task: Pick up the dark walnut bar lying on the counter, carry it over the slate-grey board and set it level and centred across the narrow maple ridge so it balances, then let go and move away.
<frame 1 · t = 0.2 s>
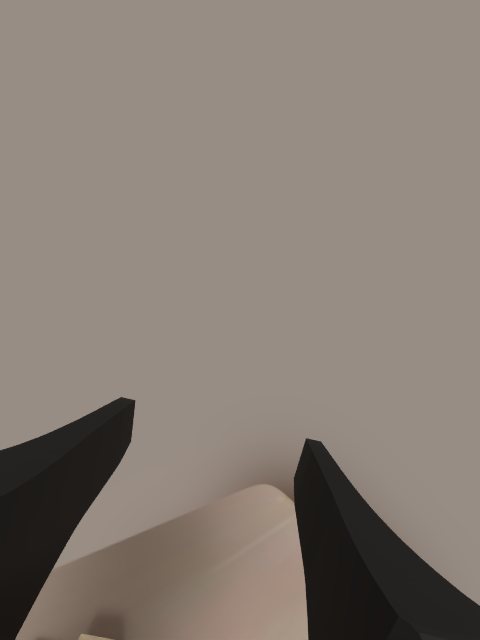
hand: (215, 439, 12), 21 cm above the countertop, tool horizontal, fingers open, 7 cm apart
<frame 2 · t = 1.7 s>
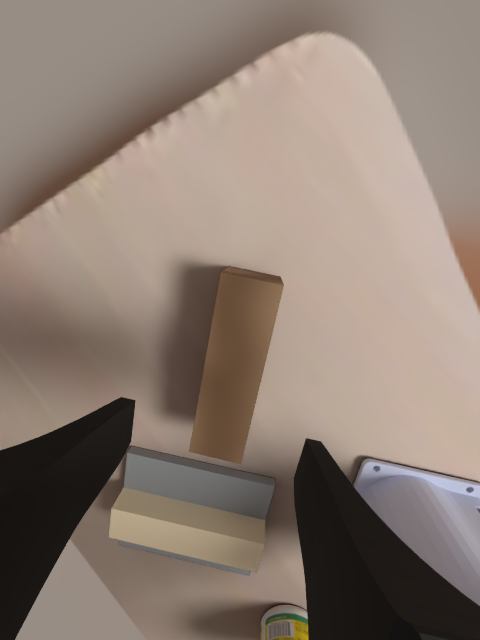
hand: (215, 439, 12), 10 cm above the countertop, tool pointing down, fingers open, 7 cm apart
supplement bottle: (288, 619, 28), on the countertop
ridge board: (193, 508, 25), on the countertop
walnut bar: (238, 352, 21), on the countertop
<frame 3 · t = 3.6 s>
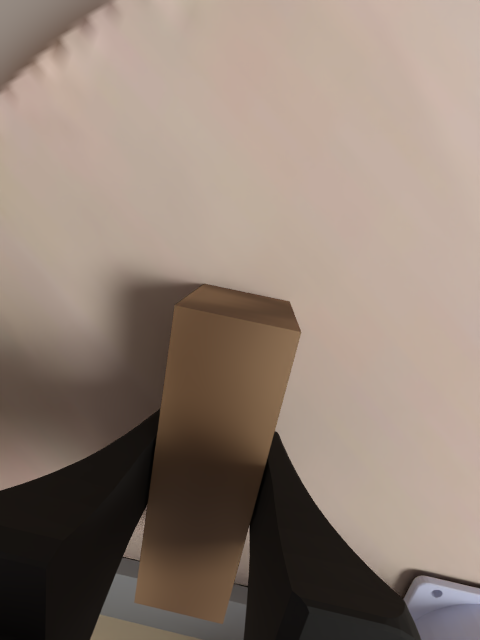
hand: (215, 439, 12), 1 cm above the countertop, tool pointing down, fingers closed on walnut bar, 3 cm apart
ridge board: (161, 628, 18), on the countertop
walnut bar: (220, 419, 13), on the countertop, touching gripper
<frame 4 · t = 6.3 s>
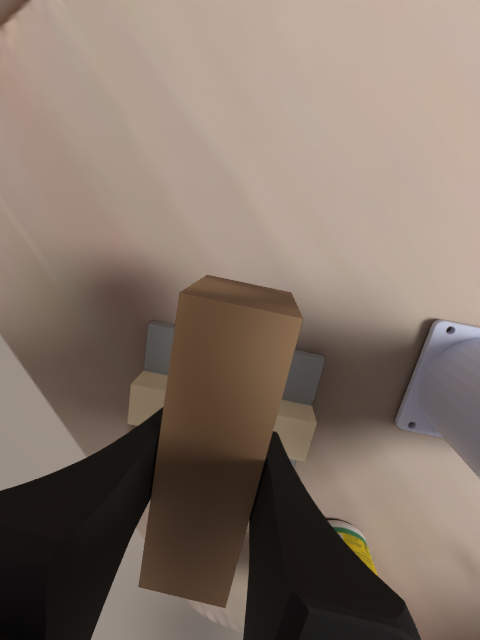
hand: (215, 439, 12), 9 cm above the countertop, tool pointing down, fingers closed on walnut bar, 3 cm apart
supplement bottle: (332, 540, 24), on the countertop
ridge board: (224, 400, 22), on the countertop
walnut bar: (223, 409, 14), point 7 cm above the countertop, touching gripper
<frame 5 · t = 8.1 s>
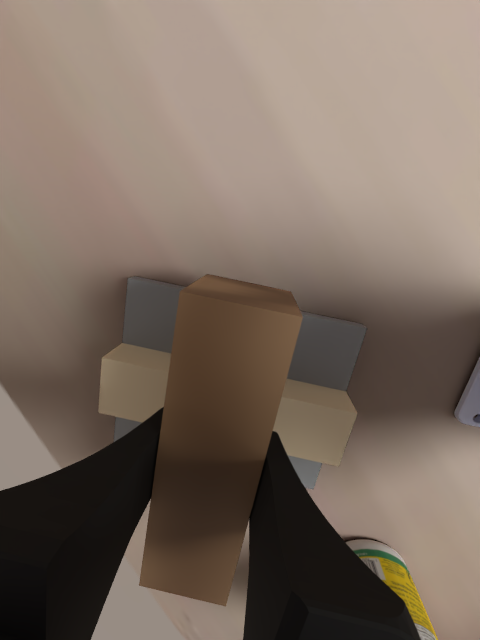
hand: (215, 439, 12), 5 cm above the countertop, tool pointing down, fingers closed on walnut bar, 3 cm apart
supplement bottle: (361, 564, 19), on the countertop
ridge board: (229, 384, 17), on the countertop
walnut bar: (223, 408, 14), point 3 cm above the countertop, touching gripper
when the fingers open (5 cm above the countertop, at t = 9.1 s): walnut bar stays where it is, resting on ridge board.
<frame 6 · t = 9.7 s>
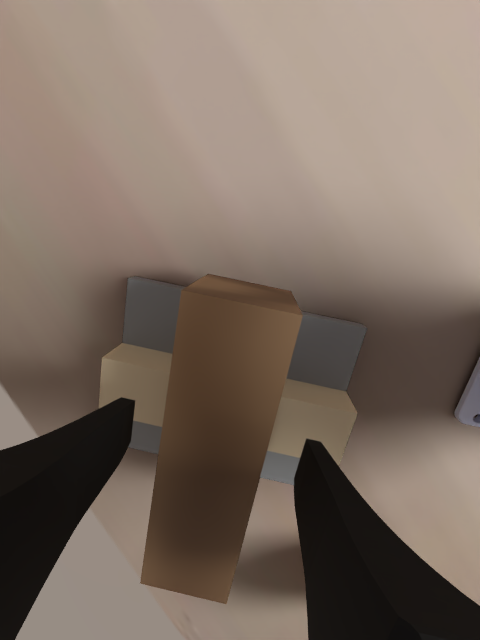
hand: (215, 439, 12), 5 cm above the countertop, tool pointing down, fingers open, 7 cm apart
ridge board: (229, 384, 17), on the countertop
walnut bar: (223, 407, 14), point 3 cm above the countertop, touching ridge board
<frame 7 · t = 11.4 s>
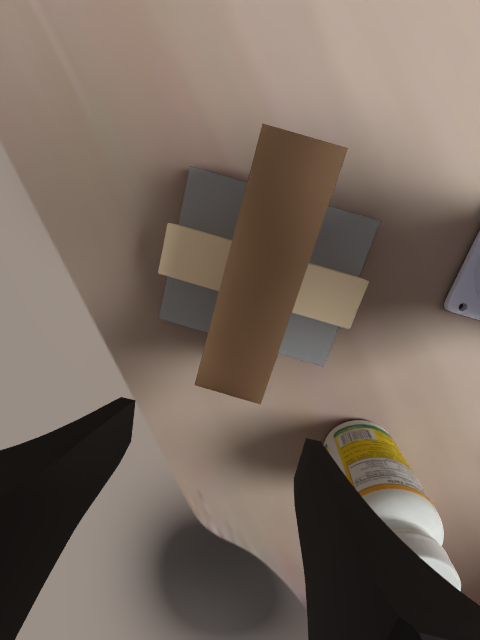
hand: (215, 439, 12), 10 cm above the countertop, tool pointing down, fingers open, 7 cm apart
supplement bottle: (355, 446, 23), on the countertop
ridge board: (261, 272, 20), on the countertop
walnut bar: (262, 272, 17), point 3 cm above the countertop, touching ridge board
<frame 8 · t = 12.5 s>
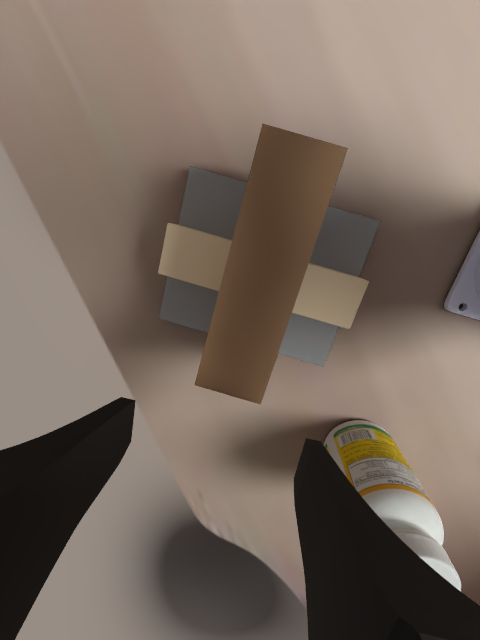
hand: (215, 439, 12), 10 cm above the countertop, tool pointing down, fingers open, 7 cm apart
supplement bottle: (355, 446, 23), on the countertop
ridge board: (261, 272, 20), on the countertop
walnut bar: (262, 272, 17), point 3 cm above the countertop, touching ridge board
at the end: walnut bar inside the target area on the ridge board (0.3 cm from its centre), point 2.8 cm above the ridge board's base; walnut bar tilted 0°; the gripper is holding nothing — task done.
